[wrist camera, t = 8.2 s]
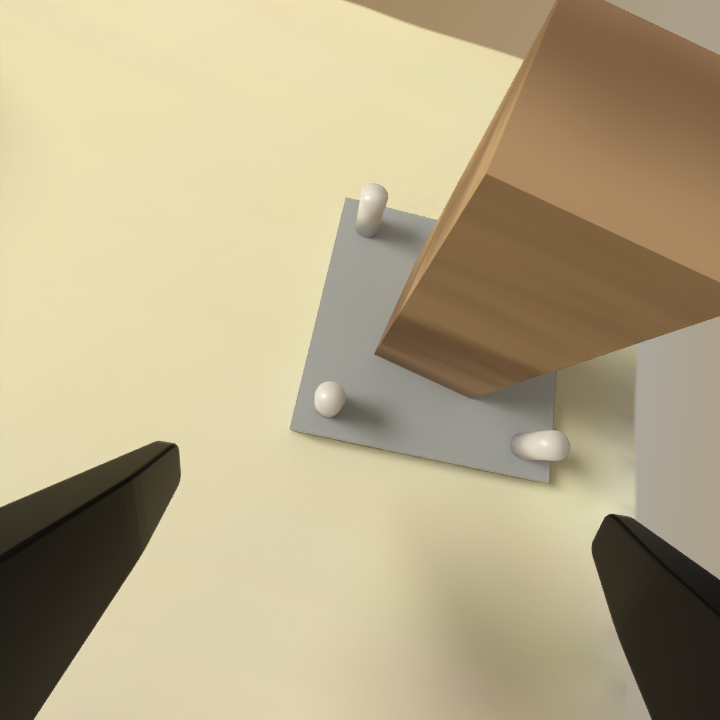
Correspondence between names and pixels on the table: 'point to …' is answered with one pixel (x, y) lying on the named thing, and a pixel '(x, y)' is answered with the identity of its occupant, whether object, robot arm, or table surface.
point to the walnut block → (574, 210)
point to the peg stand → (398, 385)
